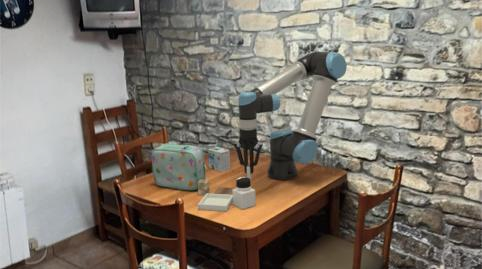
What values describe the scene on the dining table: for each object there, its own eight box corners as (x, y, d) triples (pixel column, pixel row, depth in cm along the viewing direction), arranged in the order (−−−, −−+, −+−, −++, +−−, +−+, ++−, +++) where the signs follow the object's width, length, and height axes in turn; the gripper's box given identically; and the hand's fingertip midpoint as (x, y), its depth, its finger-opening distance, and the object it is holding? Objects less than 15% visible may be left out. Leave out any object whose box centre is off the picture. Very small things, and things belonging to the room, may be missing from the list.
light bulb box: (208, 168, 244) (207, 148, 241) (218, 165, 248) (217, 146, 246) (221, 172, 236) (220, 152, 234) (231, 169, 241) (230, 149, 238)
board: (239, 193, 207) (239, 188, 207) (235, 199, 200) (235, 194, 199) (219, 192, 210) (218, 187, 209) (214, 198, 202) (213, 193, 202)
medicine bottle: (256, 205, 191) (255, 178, 189) (242, 209, 187) (241, 182, 185) (246, 200, 197) (245, 174, 194) (232, 204, 193) (231, 178, 190)
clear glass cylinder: (209, 192, 209) (208, 180, 207) (206, 195, 205) (206, 182, 203) (201, 191, 210) (200, 179, 208) (198, 195, 206) (197, 182, 204)
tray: (234, 200, 198) (233, 194, 198) (226, 211, 186) (226, 205, 186) (206, 198, 201) (206, 193, 200) (197, 209, 189) (197, 204, 189)
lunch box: (210, 186, 217) (208, 143, 212) (200, 193, 208) (197, 148, 203) (163, 180, 228) (160, 139, 222) (152, 187, 218) (148, 144, 213)
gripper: (264, 126, 197) (265, 178, 202) (235, 126, 200) (237, 176, 205) (261, 130, 189) (262, 183, 195) (231, 129, 193) (232, 182, 198)
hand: (249, 180), depth 200 cm, fingers closed
